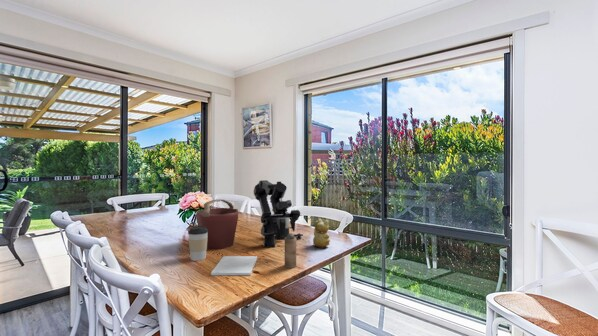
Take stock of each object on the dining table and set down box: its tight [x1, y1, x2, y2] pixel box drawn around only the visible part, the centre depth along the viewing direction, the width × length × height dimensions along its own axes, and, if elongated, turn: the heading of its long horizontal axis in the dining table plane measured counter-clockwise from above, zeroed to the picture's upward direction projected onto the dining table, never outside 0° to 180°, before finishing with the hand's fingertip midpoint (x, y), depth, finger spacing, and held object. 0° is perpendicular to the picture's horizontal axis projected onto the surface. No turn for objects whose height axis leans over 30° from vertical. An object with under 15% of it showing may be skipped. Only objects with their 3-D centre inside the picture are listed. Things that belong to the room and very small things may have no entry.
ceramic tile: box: [210, 255, 258, 276], centre depth 124 cm, size 20×16×1 cm
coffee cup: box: [187, 225, 208, 262], centre depth 133 cm, size 9×9×15 cm
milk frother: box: [275, 211, 304, 240], centre depth 170 cm, size 14×16×15 cm
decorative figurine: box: [312, 218, 331, 249], centre depth 152 cm, size 10×8×15 cm
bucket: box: [195, 198, 239, 250], centre depth 155 cm, size 24×22×25 cm
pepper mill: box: [284, 233, 297, 269], centre depth 124 cm, size 5×5×14 cm
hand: (284, 231), depth 131 cm, fingers open, 9 cm apart
